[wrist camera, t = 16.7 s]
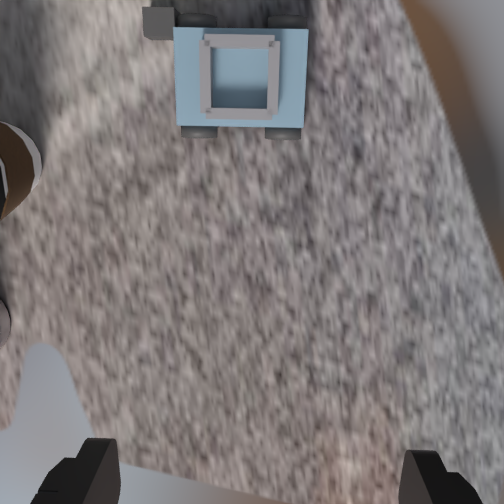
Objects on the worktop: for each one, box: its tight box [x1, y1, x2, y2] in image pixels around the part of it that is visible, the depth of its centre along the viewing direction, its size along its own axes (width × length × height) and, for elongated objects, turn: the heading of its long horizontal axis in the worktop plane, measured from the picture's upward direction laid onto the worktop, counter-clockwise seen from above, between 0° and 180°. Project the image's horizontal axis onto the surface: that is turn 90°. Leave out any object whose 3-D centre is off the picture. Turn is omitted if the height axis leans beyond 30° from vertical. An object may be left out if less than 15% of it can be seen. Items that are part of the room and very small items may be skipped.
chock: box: [142, 7, 180, 40], centre depth 35 cm, size 2×2×2 cm
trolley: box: [173, 14, 309, 140], centre depth 35 cm, size 10×9×5 cm
